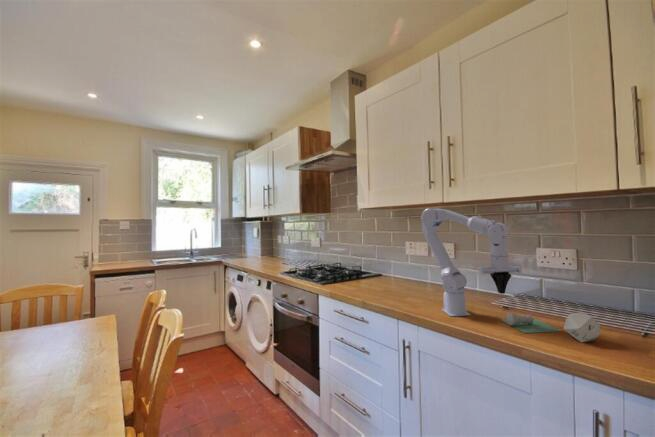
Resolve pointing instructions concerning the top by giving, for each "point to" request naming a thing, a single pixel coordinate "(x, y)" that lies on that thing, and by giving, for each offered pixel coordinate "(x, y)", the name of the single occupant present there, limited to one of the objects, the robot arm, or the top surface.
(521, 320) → the rook chess piece
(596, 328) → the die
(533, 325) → the felt mat
